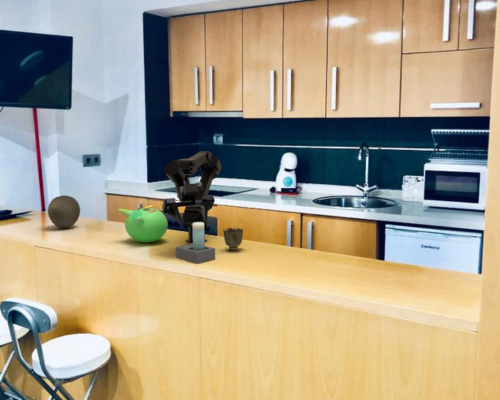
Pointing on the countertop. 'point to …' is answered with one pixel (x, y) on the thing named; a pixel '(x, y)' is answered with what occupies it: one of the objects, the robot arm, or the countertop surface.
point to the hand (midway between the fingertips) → (194, 222)
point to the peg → (198, 236)
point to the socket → (195, 253)
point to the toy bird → (145, 224)
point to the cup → (233, 238)
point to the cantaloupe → (64, 211)
